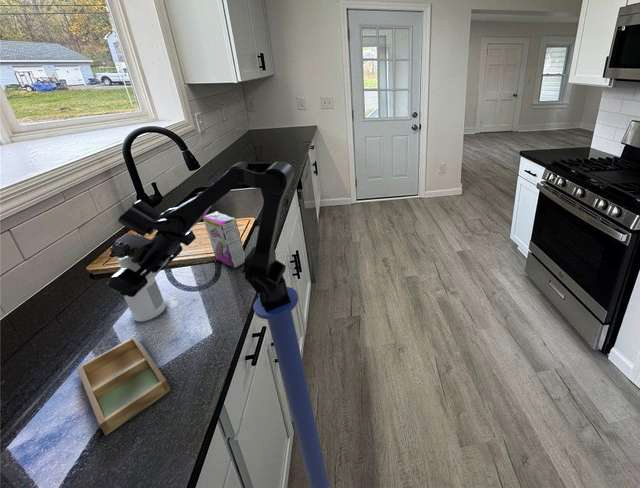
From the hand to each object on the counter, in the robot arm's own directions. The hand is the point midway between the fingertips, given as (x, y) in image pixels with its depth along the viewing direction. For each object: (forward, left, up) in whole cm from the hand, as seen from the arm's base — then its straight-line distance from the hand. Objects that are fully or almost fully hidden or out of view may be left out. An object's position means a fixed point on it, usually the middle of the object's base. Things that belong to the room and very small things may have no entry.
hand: (133, 285), depth 80 cm
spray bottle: (-1, +1, -9) cm, 9 cm away
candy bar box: (-22, -13, -9) cm, 28 cm away
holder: (+1, +23, -9) cm, 25 cm away
